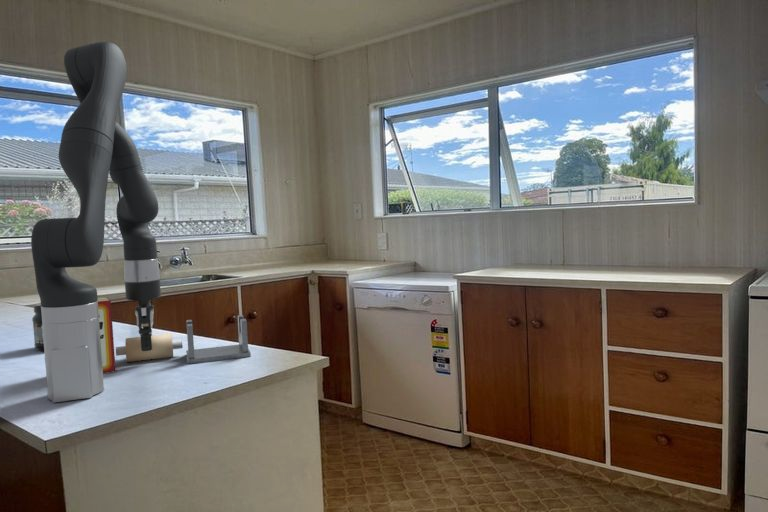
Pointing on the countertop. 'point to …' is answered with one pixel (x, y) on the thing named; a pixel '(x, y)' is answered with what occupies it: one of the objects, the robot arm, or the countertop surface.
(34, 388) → the countertop surface
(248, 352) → the roll holder
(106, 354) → the baking soda box
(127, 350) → the paper roll
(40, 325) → the supplement container
